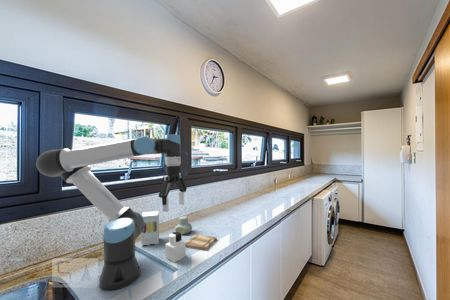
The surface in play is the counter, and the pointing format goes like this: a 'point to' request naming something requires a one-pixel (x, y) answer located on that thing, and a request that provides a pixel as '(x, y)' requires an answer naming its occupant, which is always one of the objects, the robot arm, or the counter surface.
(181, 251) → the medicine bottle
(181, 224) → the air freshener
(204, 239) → the trivet
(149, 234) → the supplement box
